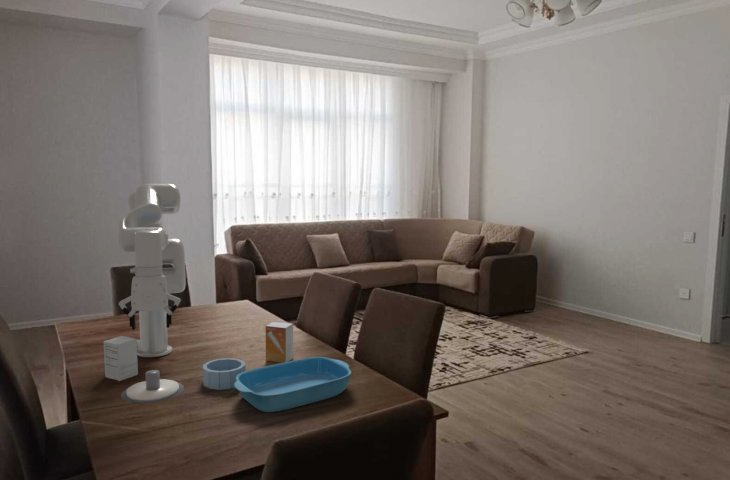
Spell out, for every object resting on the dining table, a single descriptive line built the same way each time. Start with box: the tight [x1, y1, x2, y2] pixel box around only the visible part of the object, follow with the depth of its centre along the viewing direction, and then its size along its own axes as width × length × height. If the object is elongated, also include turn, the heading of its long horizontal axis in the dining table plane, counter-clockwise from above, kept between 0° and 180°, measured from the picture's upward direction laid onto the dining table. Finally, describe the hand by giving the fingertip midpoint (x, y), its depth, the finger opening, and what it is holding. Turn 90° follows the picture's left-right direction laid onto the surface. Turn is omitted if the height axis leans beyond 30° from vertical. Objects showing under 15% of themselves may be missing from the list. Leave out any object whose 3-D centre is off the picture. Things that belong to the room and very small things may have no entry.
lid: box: [126, 369, 179, 401], centre depth 170 cm, size 15×15×6 cm
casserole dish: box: [234, 356, 352, 413], centre depth 170 cm, size 37×22×7 cm, turn 125°
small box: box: [265, 321, 294, 363], centre depth 202 cm, size 8×6×13 cm
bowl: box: [202, 357, 246, 391], centre depth 179 cm, size 13×13×6 cm
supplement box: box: [103, 335, 139, 382], centre depth 183 cm, size 7×7×13 cm
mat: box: [120, 381, 185, 404], centre depth 171 cm, size 18×18×1 cm
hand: (151, 327), depth 169 cm, fingers open, 9 cm apart
